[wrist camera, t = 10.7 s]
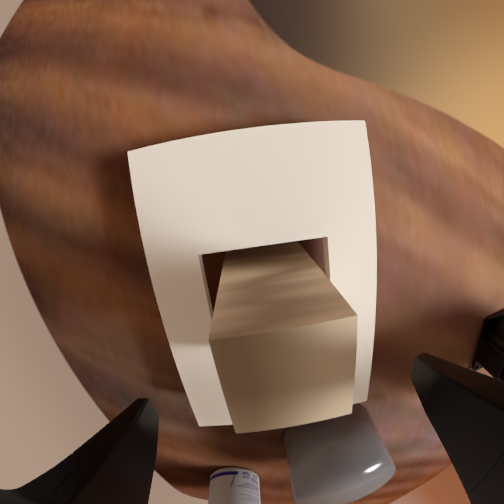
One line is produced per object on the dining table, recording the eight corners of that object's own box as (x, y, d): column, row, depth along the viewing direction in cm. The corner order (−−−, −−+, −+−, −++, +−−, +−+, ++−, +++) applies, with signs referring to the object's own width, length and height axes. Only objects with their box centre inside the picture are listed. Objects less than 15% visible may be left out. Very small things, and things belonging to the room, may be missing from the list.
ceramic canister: (384, 401, 22) (414, 455, 15) (345, 452, 24) (363, 501, 17) (302, 400, 21) (322, 469, 14) (271, 453, 23) (280, 511, 16)
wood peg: (297, 241, 18) (357, 315, 8) (304, 306, 19) (351, 413, 9) (225, 252, 18) (208, 339, 8) (237, 317, 19) (235, 433, 9)
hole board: (342, 129, 16) (364, 120, 13) (352, 372, 21) (366, 400, 17) (148, 155, 16) (127, 151, 13) (203, 395, 21) (199, 426, 17)
